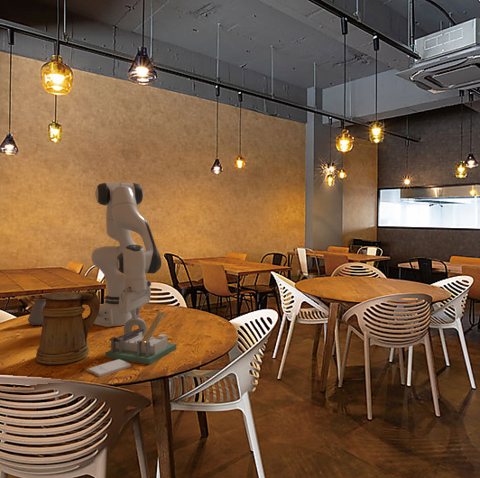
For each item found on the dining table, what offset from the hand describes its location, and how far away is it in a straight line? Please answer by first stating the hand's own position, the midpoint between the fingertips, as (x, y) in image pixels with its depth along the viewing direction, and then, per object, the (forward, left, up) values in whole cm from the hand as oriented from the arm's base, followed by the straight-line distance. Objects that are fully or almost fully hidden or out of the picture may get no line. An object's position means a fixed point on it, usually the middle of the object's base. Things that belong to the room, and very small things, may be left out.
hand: (135, 318), depth 168 cm
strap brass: (+12, -5, -2) cm, 14 cm away
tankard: (-18, -18, -13) cm, 28 cm away
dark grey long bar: (0, -5, -7) cm, 8 cm away
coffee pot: (-64, +17, -13) cm, 67 cm away
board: (+6, -5, -12) cm, 15 cm away
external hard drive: (+5, -23, -13) cm, 27 cm away
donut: (-7, +9, -13) cm, 17 cm away
